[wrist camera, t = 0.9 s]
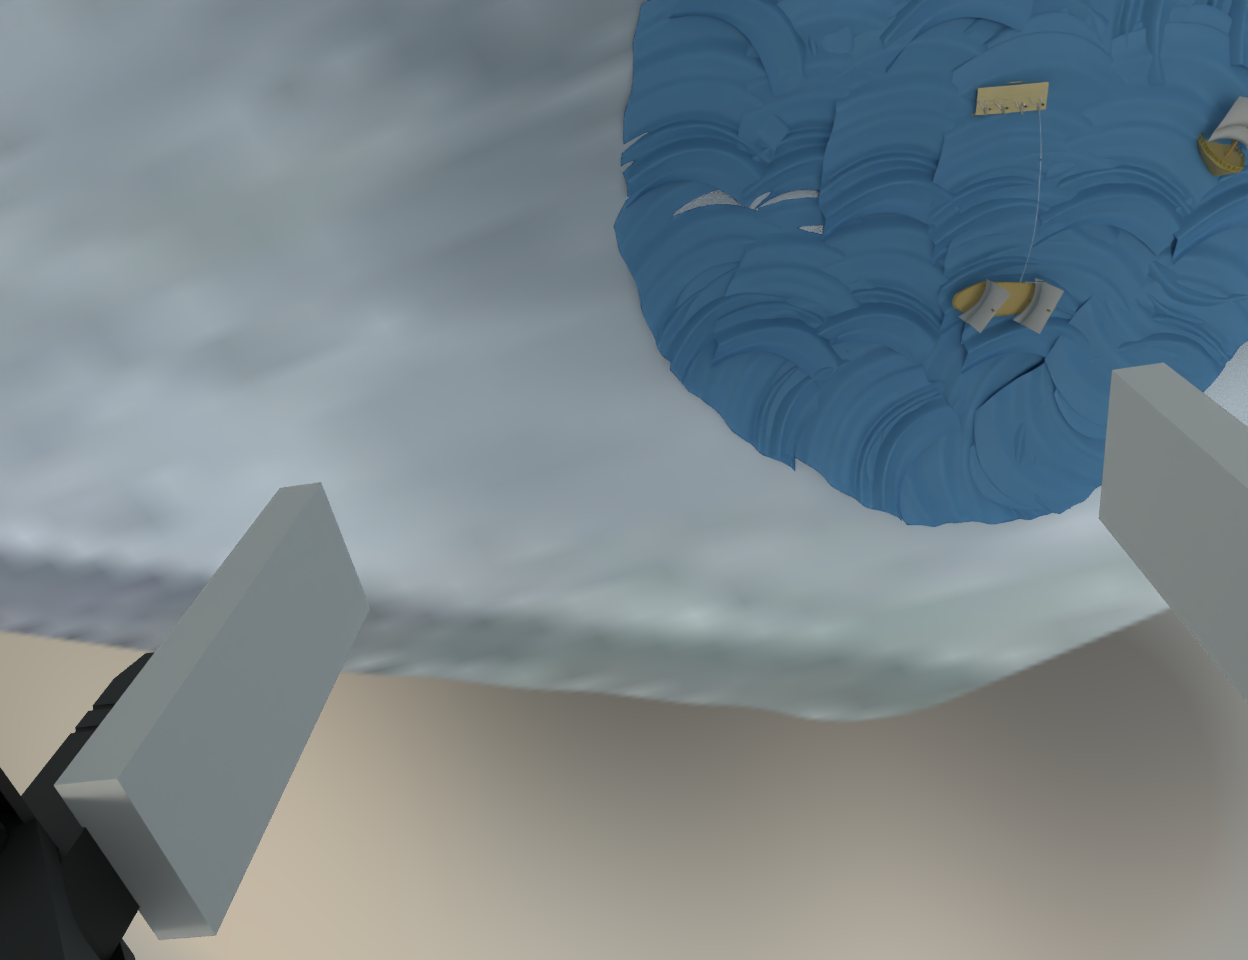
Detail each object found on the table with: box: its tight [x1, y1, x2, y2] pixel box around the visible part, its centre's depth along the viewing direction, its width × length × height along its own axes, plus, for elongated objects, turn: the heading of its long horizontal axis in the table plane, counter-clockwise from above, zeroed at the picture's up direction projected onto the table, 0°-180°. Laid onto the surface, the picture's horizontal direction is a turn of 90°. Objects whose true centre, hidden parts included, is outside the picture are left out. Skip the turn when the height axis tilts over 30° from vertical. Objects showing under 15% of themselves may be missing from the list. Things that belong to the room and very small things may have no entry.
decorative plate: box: [614, 0, 1248, 527], centre depth 36 cm, size 30×30×5 cm
